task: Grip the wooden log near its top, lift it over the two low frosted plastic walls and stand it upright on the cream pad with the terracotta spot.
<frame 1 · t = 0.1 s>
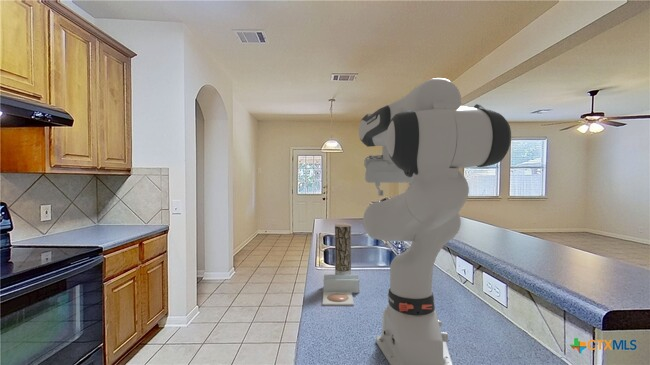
hand: (394, 195, 110), 39 cm above the countertop, tool pointing down, fingers open, 8 cm apart
low walls: (341, 289, 128), on the countertop
resting pad: (337, 299, 118), on the countertop
wooden log: (343, 282, 136), on the countertop
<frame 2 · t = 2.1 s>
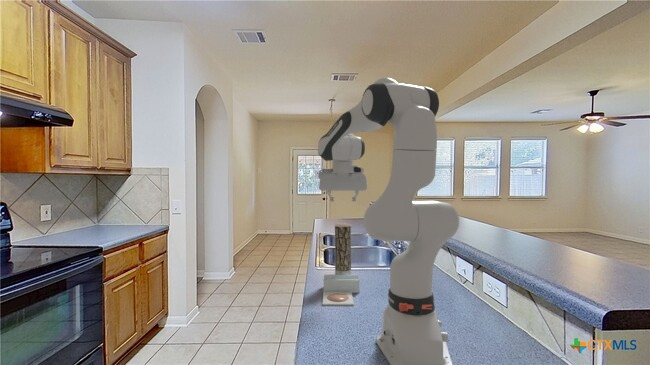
hand: (342, 201, 135), 35 cm above the countertop, tool pointing down, fingers open, 8 cm apart
nothing on the countertop moved.
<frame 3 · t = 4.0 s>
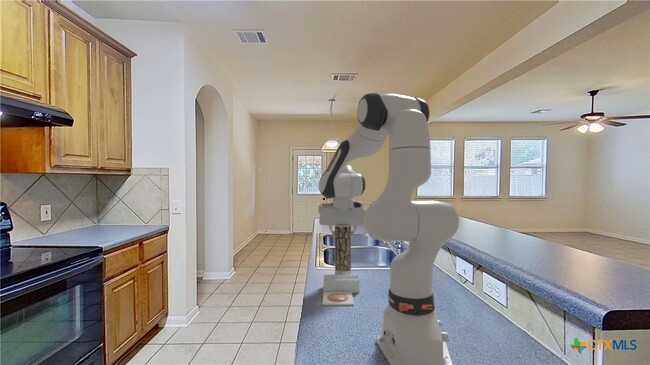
hand: (342, 235, 136), 20 cm above the countertop, tool pointing down, fingers closed on wooden log, 7 cm apart
wooden log: (343, 282, 136), on the countertop, touching gripper
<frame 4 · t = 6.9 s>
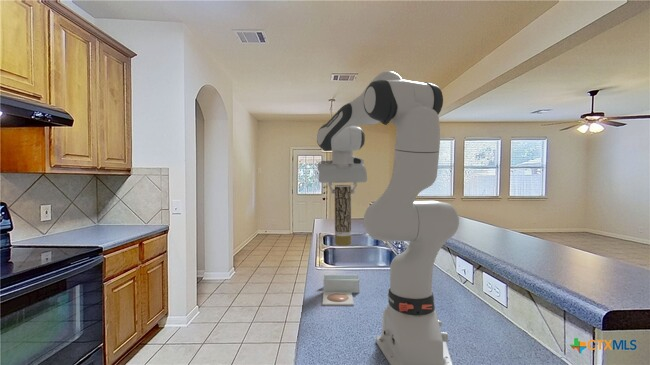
hand: (342, 193, 133), 38 cm above the countertop, tool pointing down, fingers closed on wooden log, 7 cm apart
wooden log: (343, 244, 134), point 17 cm above the countertop, touching gripper
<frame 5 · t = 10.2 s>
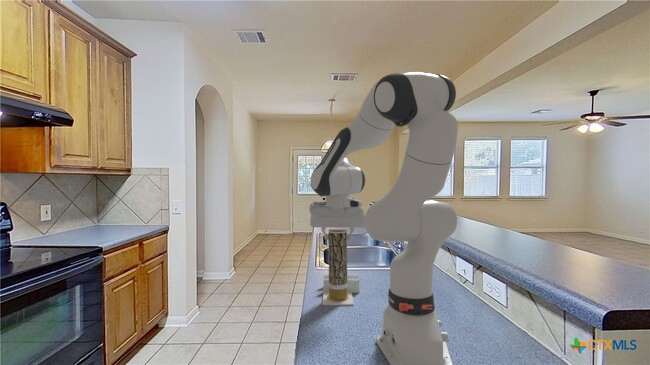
hand: (337, 239, 117), 22 cm above the countertop, tool pointing down, fingers closed on wooden log, 7 cm apart
wooden log: (338, 298, 118), point 1 cm above the countertop, touching gripper, resting pad
when the fingers open (22 cm above the countertop, at t = 11.2 s): wooden log stays where it is, resting on resting pad.
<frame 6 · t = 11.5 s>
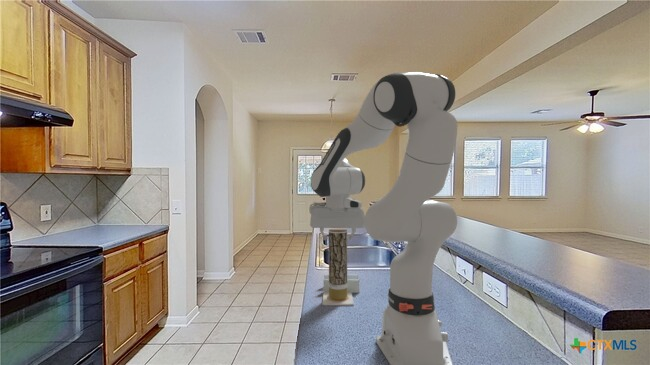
hand: (337, 239, 117), 22 cm above the countertop, tool pointing down, fingers open, 8 cm apart
wooden log: (338, 298, 118), point 1 cm above the countertop, touching resting pad
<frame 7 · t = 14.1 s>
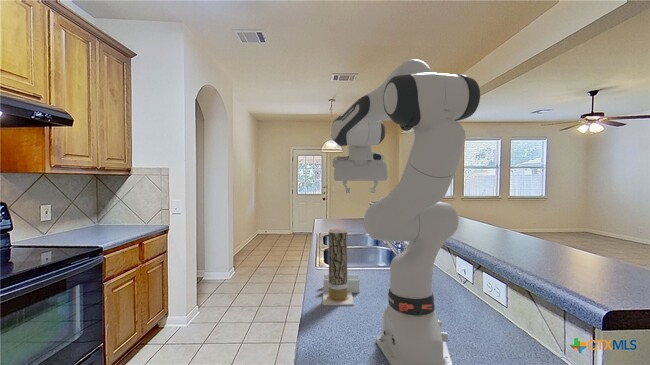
hand: (360, 192, 120), 39 cm above the countertop, tool pointing down, fingers open, 8 cm apart
nothing on the countertop moved.
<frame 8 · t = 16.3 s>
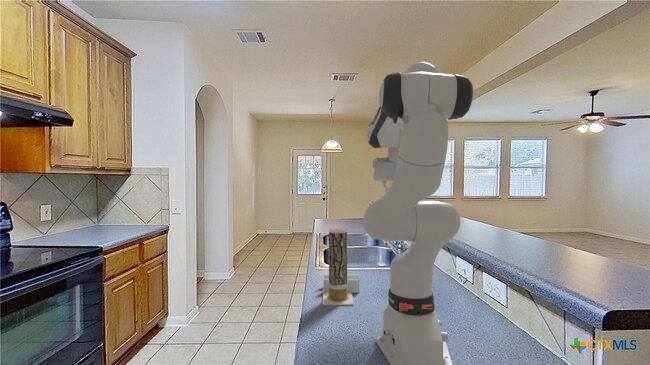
hand: (399, 192, 126), 39 cm above the countertop, tool pointing down, fingers open, 8 cm apart
nothing on the countertop moved.
at the end: wooden log 0.1 cm off-centre on the resting pad, point 0.5 cm above the resting pad's base; wooden log tilted 0°; the gripper is holding nothing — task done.
